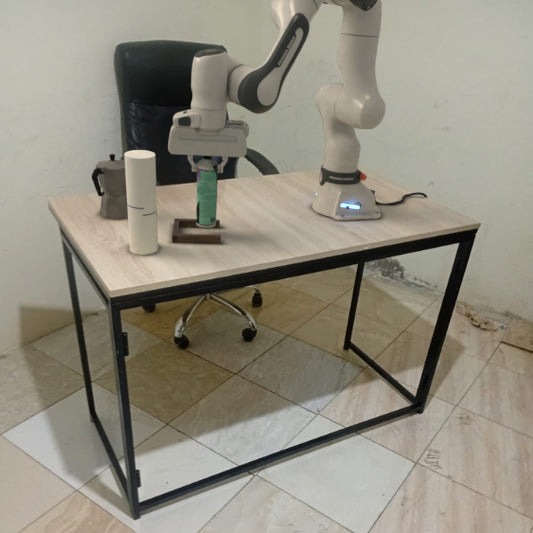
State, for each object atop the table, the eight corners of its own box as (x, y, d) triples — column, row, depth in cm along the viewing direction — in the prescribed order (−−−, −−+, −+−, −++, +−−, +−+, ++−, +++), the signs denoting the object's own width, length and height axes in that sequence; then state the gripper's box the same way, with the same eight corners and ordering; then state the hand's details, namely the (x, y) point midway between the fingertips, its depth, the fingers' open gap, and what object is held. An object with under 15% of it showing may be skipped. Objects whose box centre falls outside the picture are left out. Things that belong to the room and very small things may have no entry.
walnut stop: (219, 225, 148) (219, 219, 147) (220, 243, 137) (220, 237, 136) (174, 224, 146) (174, 218, 145) (172, 242, 136) (172, 235, 135)
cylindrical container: (132, 242, 134) (126, 149, 122) (159, 243, 135) (156, 150, 123) (127, 254, 128) (122, 157, 116) (156, 255, 128) (153, 159, 117)
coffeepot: (116, 203, 157) (113, 146, 148) (142, 209, 154) (140, 151, 145) (83, 220, 144) (76, 158, 135) (110, 227, 141) (105, 164, 133)
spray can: (217, 221, 143) (220, 151, 133) (213, 229, 138) (216, 157, 128) (198, 219, 143) (199, 149, 134) (194, 226, 138) (195, 155, 129)
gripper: (248, 118, 131) (245, 169, 137) (168, 113, 128) (169, 166, 135) (250, 123, 125) (247, 177, 132) (167, 118, 123) (167, 173, 129)
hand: (207, 171), depth 133 cm, fingers closed on spray can, 5 cm apart
